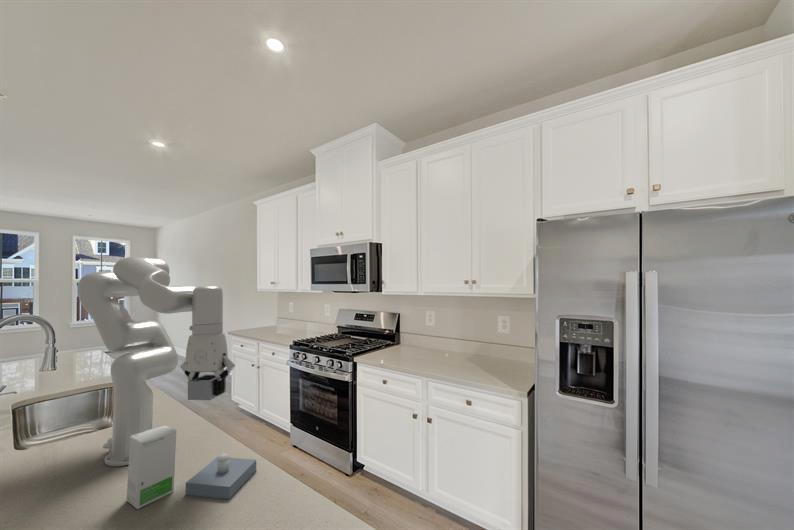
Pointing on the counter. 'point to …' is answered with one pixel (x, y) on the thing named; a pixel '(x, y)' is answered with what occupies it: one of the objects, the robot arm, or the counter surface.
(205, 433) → the counter surface
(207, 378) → the grey open box
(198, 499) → the counter surface
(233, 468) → the shaft block
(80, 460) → the counter surface
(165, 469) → the skincare box
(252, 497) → the counter surface
